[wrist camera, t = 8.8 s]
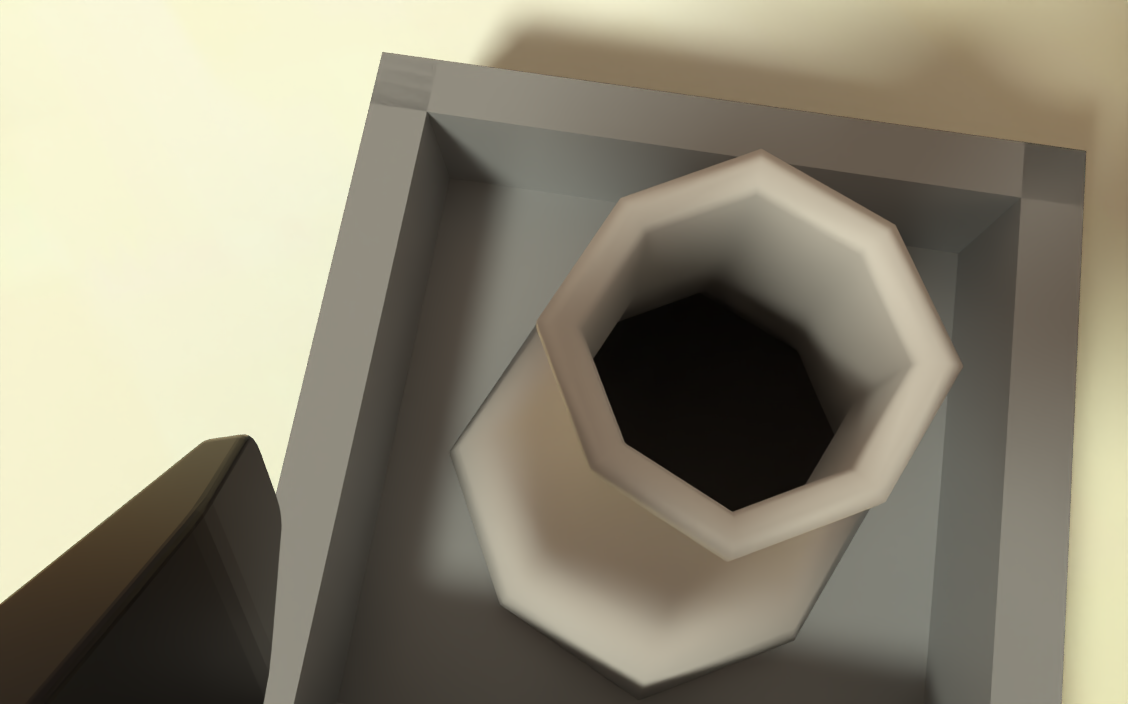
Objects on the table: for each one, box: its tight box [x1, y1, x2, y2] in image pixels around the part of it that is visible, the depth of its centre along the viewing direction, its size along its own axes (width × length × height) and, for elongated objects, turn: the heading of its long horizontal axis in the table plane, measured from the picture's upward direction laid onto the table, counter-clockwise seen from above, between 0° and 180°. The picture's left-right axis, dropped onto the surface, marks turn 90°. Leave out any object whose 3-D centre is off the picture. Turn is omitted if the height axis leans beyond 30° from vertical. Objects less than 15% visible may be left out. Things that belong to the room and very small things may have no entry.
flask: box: [449, 149, 963, 700], centre depth 12 cm, size 7×7×10 cm
